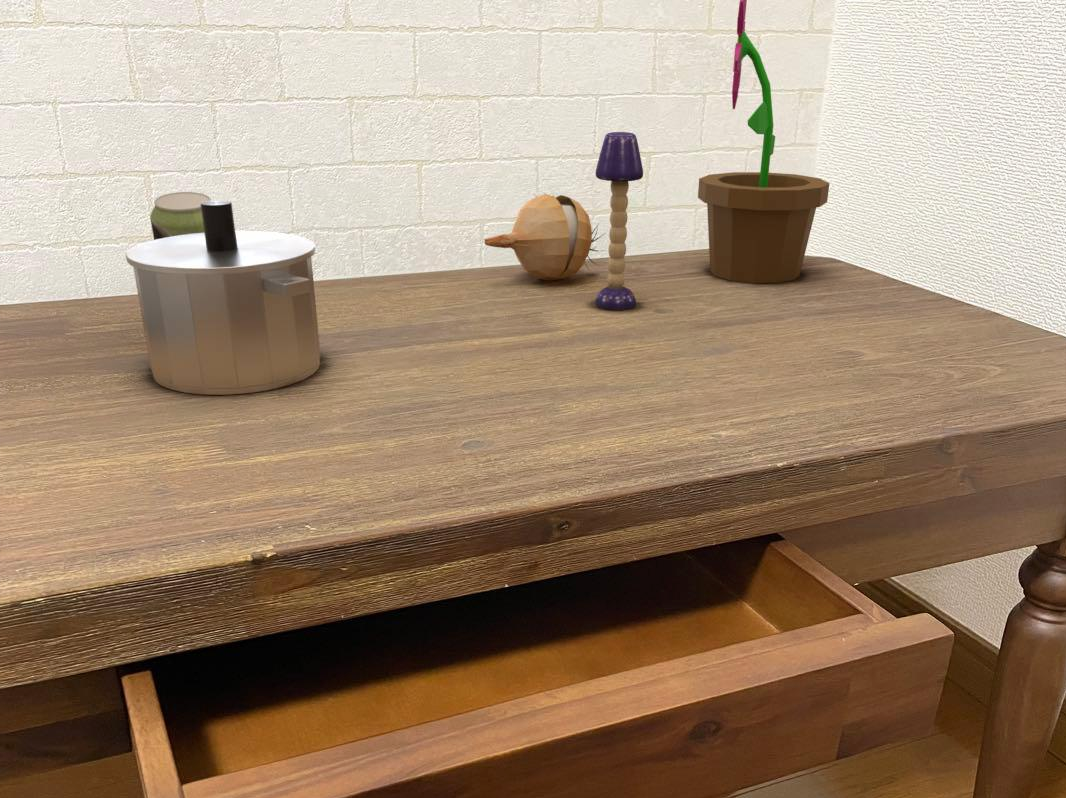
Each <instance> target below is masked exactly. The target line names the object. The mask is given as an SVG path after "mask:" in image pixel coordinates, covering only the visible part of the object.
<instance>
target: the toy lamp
mask: <svg viewBox="0 0 1066 798" xmlns="http://www.w3.org/2000/svg"><path fill="white" fill-rule="evenodd" d="M595 177H596V178H597V179H599V180H602V181H608V182H610V192H611V197H610V201H609V205H610V208H611V210H610V215H609V223H610V228H609V233H608V237H609V240H610V242H609V244H608V255H609V259H608V262H607V269H608V272H609V273H608V274H607V278H606V279H607V281H606V282H607V286H606V287H604V288H602V289H600V291H599V292H598V293H597V295H596V297H595V300H594V304H595V307H597V308H599V309H604V310H608V311H609V310H610V311H627V310H631V309H634V308H635V307H636V306H637V299H636V296H635V295H634V292H633V291H632V290H630V288H628V287H626V286H624V284H625V274H624V271H625V270H626V269H625V268H626V260H625V255H626V253H627V244H626V240H627V237H628V229H627V227H626V225H627V223H628V212H627V209H628V206H629V197H628V195H627V194H628V192H629V189H630V187H629V186H630V184H629V182H635V181H639V180H641V179H643V177H644V169H643V163H642V157H641V152H640V147H639V143H638V139H637V135H636V134H635V133H633V132H628V131H612V132H607V133H606V135H605V136H604V139H603V141H602V145H601V148H600V153H599V155H598V161H597V164H596V169H595Z"/></svg>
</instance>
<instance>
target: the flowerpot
mask: <svg viewBox="0 0 1066 798" xmlns="http://www.w3.org/2000/svg"><path fill="white" fill-rule="evenodd" d="M747 1H748V0H739V2H738V3H739V4H738V12H737V21H736V22H737V23H736V35H737V40H736V43H735V46H734V55H733V69H732V72H733V75H732V77H733V78H732V88H731V93H732V94H731V97H732V98H731V100H732V110H736V106H737V101H738V98H739V89H740V84H741V76H742V61H743V59H744V58H745V57H746V56H748V57H749V58H750V60H751V62H752V65H753V67H754V70H755V72H756V76H757V77H758V81H759V84H760V86H761V96H762V103H761V104H759V106H758V107H757V108H756V109H755V111H754V112H753V113H752V114H751V115H750V117H749V118H748V119H747V126H748V127H749V128H750V129H751V130H752V131H753V132H754V133H756V135H763V142H762V150H761V161H760V171H754V172H753V171H752V172H751V171H745V172H743V171H738V172H737V171H733V172H721V173H711V174H708V175H707V174H706V175H705V176H702V177H700V178H698V187H697V188H698V190H697V199H699V200H700V201H701V202H702V203H704V204H706V208H707V209H706V210H707V211H706V212H707V230H708V253H709V272H710V273H711V274H712V275H713V276H714V277H718V278H720V279H725V280H728V281H731V282H733V281H734V282H741V283H748V284H749V283H750V284H779V283H784V282H790V281H794V280H796V279H797V278H798V277H799V276H800V275H801V272H802V266H803V264H804V260H805V255H806V251H807V247H808V243H809V240H810V235H811V230H812V227H813V223H814V219H815V215H816V210H817V208H821V207H822V206H824V205H826V204H827V203H828V199H829V192H830V191H829V190H830V182H828V181H826V180H824V179H822V178H820V177H814V176H808V175H803V174H795V173H784V172H783V173H781V172H770V165H771V164H770V163H771V156H772V155H773V154H774V150H775V143H776V135H774V115H773V103H772V89H771V82H770V80H769V77H768V74H767V71H766V68H765V66H764V63H763V61H762V58H761V55H760V53H759V52H758V50H757V49H756V47H755V45H754V44H753V43H752V41H751V39H750V38H749V37H748V35H747V33H746V13H747V4H748V3H747Z"/></svg>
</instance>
